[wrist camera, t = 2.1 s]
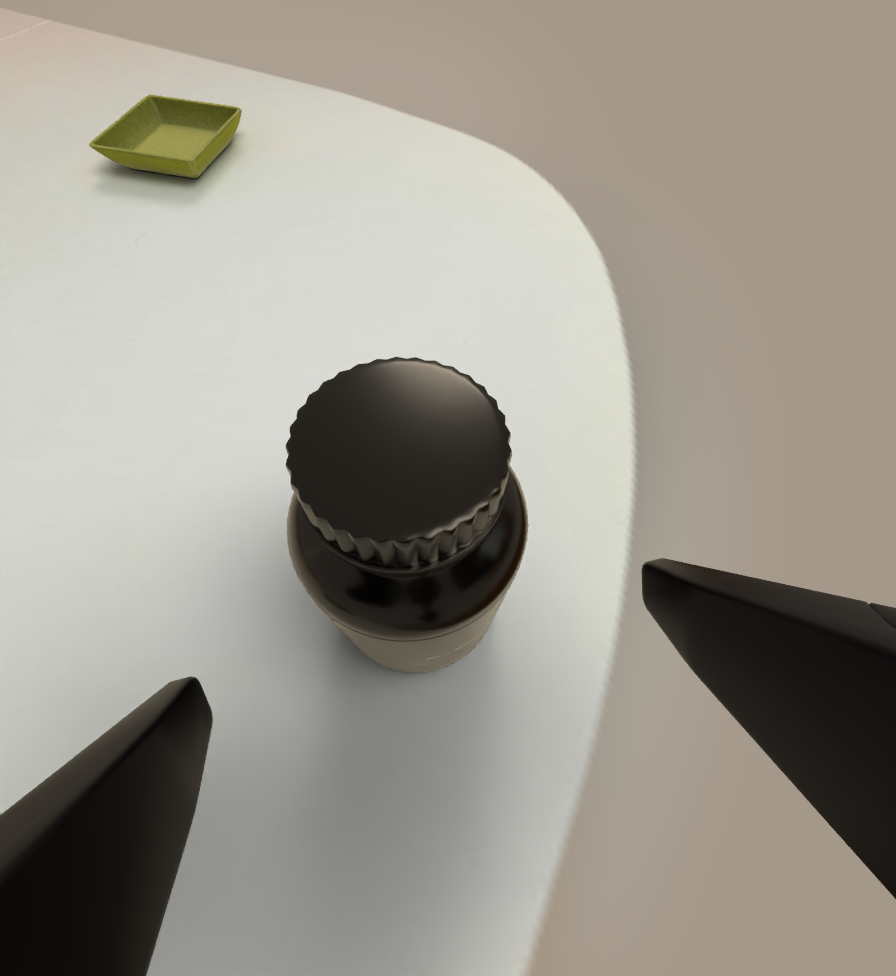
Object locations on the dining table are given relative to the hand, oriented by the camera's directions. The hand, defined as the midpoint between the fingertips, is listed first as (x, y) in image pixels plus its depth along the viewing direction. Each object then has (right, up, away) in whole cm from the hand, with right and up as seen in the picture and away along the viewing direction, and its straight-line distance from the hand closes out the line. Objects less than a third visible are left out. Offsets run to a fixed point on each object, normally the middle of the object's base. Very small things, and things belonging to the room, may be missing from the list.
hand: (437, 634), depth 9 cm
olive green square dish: (-22, +31, +28) cm, 47 cm away
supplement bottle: (-1, -2, +11) cm, 11 cm away
